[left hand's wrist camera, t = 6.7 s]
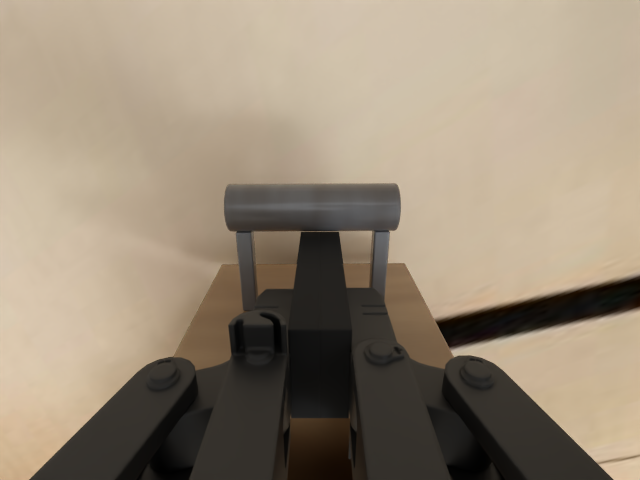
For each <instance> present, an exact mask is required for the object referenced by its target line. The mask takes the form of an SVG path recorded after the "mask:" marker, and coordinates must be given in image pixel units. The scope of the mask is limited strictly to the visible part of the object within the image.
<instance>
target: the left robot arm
mask: <svg viewBox="0 0 640 480" xmlns="http://www.w3.org/2000/svg"><path fill="white" fill-rule="evenodd" d="M228 328H229V338H230V347H231V357H230V360H228V361H226V362H224V363H222V364H219V365H216V366H213V367H209V368H204V369H200V370H195V366H194V365H193V364H192V362H191V361H190V360H187V359H184V358H182V357H168V358H164V359H159V360H157V361H154V362H152V363H150V364H148V365H146V366H145V367H144V368H142V369H141V370H140V371H138V372H137V373H136V374H135V375H134V376H133V377H132V378H131V379H130V380H129V381H128V382H127V383H126V384H125V385H124V386H123V387H122V388H121V389H120V390H119V391H118V392H117V393H116V394H115V395H114V396H113V397H112V398H111V399H110V400H109V401H108V402H107V403H106V404H105V405H104V406H103V407H102V408H101V409H100V410H99V411H98V412H97V413H96V414H95V415H94V416H93V417H92V418H91V419H90V420H89V421H88V422H87V423H86V424H85V425H84V426H83V427H82V428H81V429H80V430H79V431H78V432H77V433H76V434H75V435H74V436H73V437H72V438H71V439H70V440H69V441H68V442H67V443H66V444H65V445H64V446H63V447H62V448H61V449H60V450H59V451H58V452H57V453H56V454H55V455H54V456H53V457H52V458H51V459H50V460H49V461H48V462H47V463H46V464H45V465H44V466H43V467H42V468H41V469H40V470H39V471H38V472H37V473H36V474H35V475H34V476H33V477H32V478H31V479H30V480H287V476H288V464H289V452H290V439H291V431H290V417H291V418H349V416H350V431H349V456H348V459H351V463H352V475H353V480H613V479H612V478H611V477H610V476H609V475H608V474H607V473H606V472H605V471H604V470H603V469H602V468H601V467H600V466H599V465H598V464H597V463H596V462H595V461H594V460H593V459H592V458H591V457H590V456H589V455H588V454H587V453H586V452H585V451H584V450H583V449H582V448H581V447H580V446H579V445H578V444H577V443H576V442H575V441H574V440H573V439H572V438H571V437H570V436H569V435H568V434H567V433H566V432H565V431H564V430H563V429H562V428H561V427H560V426H559V425H558V424H557V423H555V422H554V421H553V420H552V419H551V418H550V417H549V416H548V415H547V414H546V413H545V412H544V411H543V410H542V409H541V408H540V407H539V406H538V405H537V404H536V403H535V402H534V401H533V400H532V399H531V398H530V397H529V396H528V395H527V394H526V393H525V392H524V391H523V390H522V389H521V388H520V387H519V386H518V385H517V384H516V383H515V382H514V381H513V380H512V379H511V378H510V377H509V376H508V375H507V374H506V373H505V372H504V371H503V370H502V369H500V368H499V367H498V366H496V365H495V364H494V363H492V362H489V361H487V360H485V359H483V358H479V357H474V356H457V357H454V358H452V359H450V360H449V361H448V362H447V363H446V365H445V369H442V368H438V367H434V366H429V365H426V364H422V363H419V362H417V361H415V360H413V359H411V358H410V357H409V354H408V353H407V351H406V349H405V348H404V347H403V346H402V345H400V344H399V343H397V340H396V337H395V334H394V330H393V327H392V324H391V321H390V318H389V315H388V311H387V308H386V305H385V302H384V298H383V296H382V295H381V294H380V293H379V292H378V291H377V290H376V289H375V288H346V281H345V274H344V266H343V259H342V252H341V245H340V237H339V232H301V237H300V245H299V252H298V259H297V266H296V274H295V281H294V288H293V289H266V290H264V291H263V292H262V293H261V294H260V295H259V296H258V297H257V300H256V303H255V306H254V309H253V310H251V311H248V312H244V313H241V314H240V315H238V316H236V317H235V318H233V319H232V321H231V322H230V323H229V325H228Z"/></svg>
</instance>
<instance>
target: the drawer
mask: <svg viewBox="0 0 640 480" xmlns="http://www.w3.org/2000/svg"><path fill="white" fill-rule="evenodd" d="M400 212H401V199H400V191H399V188H398V185H397V184H395V183H391V184H229V185H228V186H227V188H226V191H225V197H224V214H225V221H226V225H227V228H228V230H229V231H237V232H236V241H237V251H238V262H239V264H233V265H222V266H221V268H220V270H219V271H218V273H217V275H216V277H215V279H214V281H213V283H212V285H211V287H210V288H209V290H208V292H207V294H206V296H205V298H204V300H203V302H202V304H201V305H200V307H199V309H198V311H197V313H196V315H195V317H194V319H193V321H192V322H191V324H190V326H189V328H188V330H187V332H186V334H185V336H184V338H183V339H182V341H181V343H180V345H179V347H178V349H177V351H176V353H175V355H174V356H173V357H182V358H184V359H187V360H190V361H191V362H192V364H193V365H194V366H195V370H200V369H204V368H209V367H213V366H216V365H219V364H222V363H224V362H226V361H228V360H230V357H231V347H230V338H229V328H228V325H229V323H230V322H231V321H232V319H233V318H235V317H236V316H238V315H240V314H241V313H244V312H248V311H251V310H253V309H254V306H255V303H256V300H257V297H258V296H259V295H260V294H261V293H262V292H263V291H264V290H266V289H293V288H294V281H295V274H296V266H297V264H256V258H255V245H254V231H372V245H371V262H370V264H343V266H344V274H345V281H346V288H375V289H376V290H377V291H378V292H379V293H380V294H381V295H382V296H383V298H384V302H385V305H386V308H387V311H388V315H389V318H390V321H391V324H392V327H393V330H394V334H395V337H396V340H397V343H399V344H400V345H402V346H403V347H404V348H405V349H406V351H407V353H408V354H409V357H410V358H411V359H413V360H415V361H417V362H419V363H422V364H426V365H429V366H434V367H438V368H442V369H445V365H446V363H447V362H448V361H449V360H450V359H452V358H454V356H453V355H452V353H451V351H450V349H449V347H448V345H447V343H446V341H445V339H444V337H443V335H442V334H441V332H440V330H439V328H438V326H437V324H436V322H435V320H434V318H433V316H432V315H431V313H430V311H429V309H428V307H427V305H426V303H425V301H424V299H423V297H422V295H421V294H420V292H419V290H418V288H417V286H416V284H415V282H414V280H413V278H412V276H411V274H410V273H409V271H408V269H407V267H406V265H405V264H404V263H387V261H388V248H389V235H390V232H389V231H394V230H396V229H397V227H398V225H399V220H400ZM290 431H291V439H290V452H289V464H288V476H287V480H353V475H352V463H351V459H348V456H349V431H350V416H349V418H291V417H290Z"/></svg>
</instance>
